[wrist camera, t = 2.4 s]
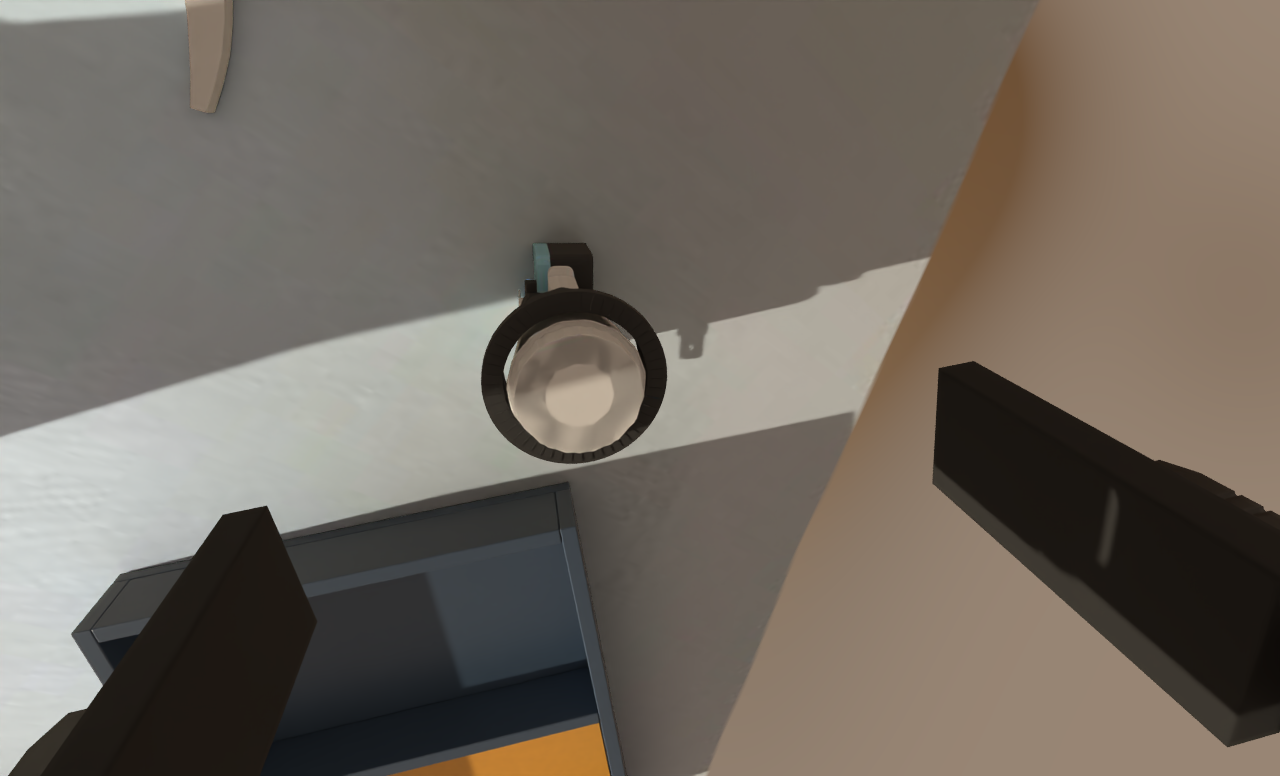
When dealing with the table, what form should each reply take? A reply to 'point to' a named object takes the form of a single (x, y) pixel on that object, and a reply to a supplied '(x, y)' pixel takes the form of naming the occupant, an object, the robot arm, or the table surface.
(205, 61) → the pliers
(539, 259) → the push button
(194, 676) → the robot arm
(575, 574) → the parts tray
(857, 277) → the table surface
